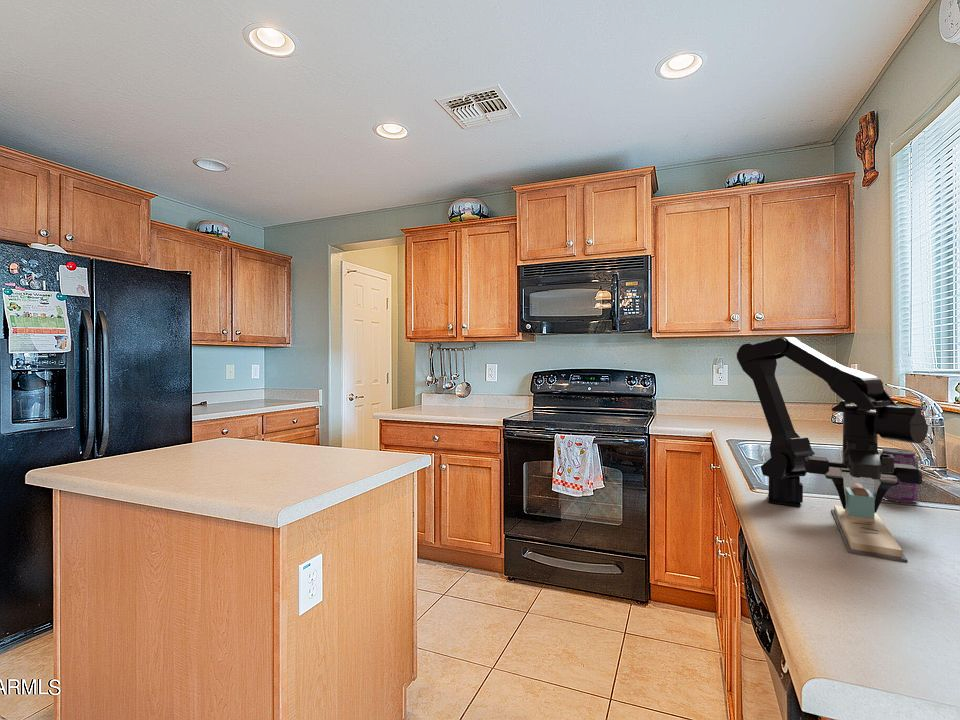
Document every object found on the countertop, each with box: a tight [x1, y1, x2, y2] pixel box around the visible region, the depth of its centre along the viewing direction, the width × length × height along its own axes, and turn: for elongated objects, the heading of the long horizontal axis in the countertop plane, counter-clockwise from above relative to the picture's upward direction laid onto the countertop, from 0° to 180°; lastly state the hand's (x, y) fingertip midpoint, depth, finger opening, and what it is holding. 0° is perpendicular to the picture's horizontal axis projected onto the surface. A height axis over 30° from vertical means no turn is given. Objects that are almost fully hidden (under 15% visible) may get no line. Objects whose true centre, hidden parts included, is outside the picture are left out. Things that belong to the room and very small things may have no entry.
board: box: [831, 504, 908, 563], centre depth 97 cm, size 8×27×2 cm, turn 150°
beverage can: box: [881, 447, 919, 503], centre depth 119 cm, size 7×7×12 cm
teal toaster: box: [844, 483, 875, 523], centre depth 102 cm, size 4×7×6 cm, turn 150°
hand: (859, 510), depth 102 cm, fingers open, 5 cm apart
